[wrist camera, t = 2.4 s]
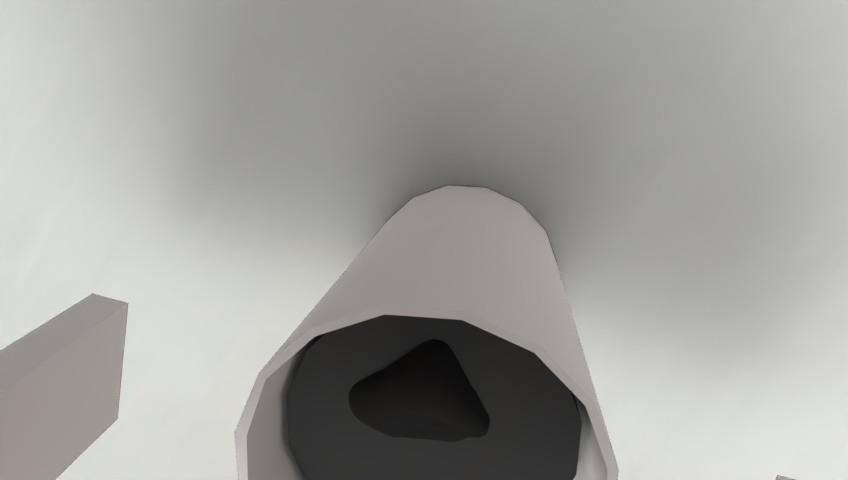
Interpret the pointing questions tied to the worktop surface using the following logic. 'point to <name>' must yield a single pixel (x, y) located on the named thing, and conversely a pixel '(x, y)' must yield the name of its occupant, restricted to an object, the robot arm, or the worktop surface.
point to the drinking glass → (434, 361)
